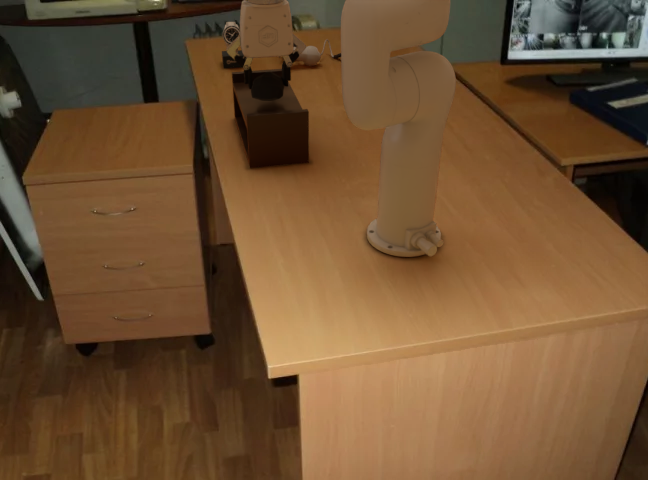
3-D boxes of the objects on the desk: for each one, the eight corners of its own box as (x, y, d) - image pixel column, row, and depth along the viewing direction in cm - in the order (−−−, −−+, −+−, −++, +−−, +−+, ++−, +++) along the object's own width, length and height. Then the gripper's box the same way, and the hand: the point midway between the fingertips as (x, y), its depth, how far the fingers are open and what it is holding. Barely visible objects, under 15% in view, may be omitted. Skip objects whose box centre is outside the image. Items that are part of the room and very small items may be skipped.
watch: (224, 71, 190) (221, 28, 184) (222, 60, 196) (219, 18, 190) (245, 69, 191) (243, 27, 184) (243, 59, 197) (240, 17, 191)
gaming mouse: (288, 77, 156) (287, 58, 153) (281, 104, 144) (280, 84, 141) (258, 76, 156) (257, 58, 153) (249, 103, 144) (248, 83, 141)
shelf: (308, 162, 148) (308, 111, 141) (249, 168, 145) (246, 116, 139) (287, 115, 167) (286, 68, 161) (234, 119, 165) (231, 72, 158)
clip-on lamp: (330, 62, 205) (269, 54, 198) (334, 39, 202) (273, 30, 195) (345, 72, 195) (282, 64, 188) (350, 48, 193) (286, 38, 185)
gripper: (220, 2, 134) (227, 95, 145) (313, -3, 137) (313, 89, 148) (216, -9, 140) (223, 82, 150) (305, -13, 143) (305, 76, 154)
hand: (267, 84), depth 149 cm, fingers closed on gaming mouse, 6 cm apart
